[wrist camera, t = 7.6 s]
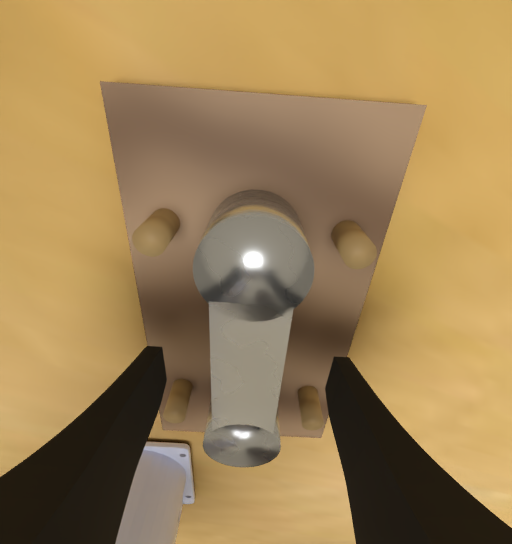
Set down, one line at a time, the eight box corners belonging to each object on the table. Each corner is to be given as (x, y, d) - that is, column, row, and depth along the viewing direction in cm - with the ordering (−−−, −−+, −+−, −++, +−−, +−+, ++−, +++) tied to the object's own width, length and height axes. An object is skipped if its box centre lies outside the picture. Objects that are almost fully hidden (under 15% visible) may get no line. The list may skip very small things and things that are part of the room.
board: (318, 424, 20) (327, 469, 18) (167, 416, 20) (153, 461, 18) (412, 105, 10) (463, 104, 8) (113, 83, 10) (62, 74, 8)
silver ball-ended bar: (274, 414, 18) (276, 468, 16) (212, 411, 18) (204, 465, 15) (308, 192, 11) (324, 220, 8) (207, 185, 11) (189, 211, 8)
